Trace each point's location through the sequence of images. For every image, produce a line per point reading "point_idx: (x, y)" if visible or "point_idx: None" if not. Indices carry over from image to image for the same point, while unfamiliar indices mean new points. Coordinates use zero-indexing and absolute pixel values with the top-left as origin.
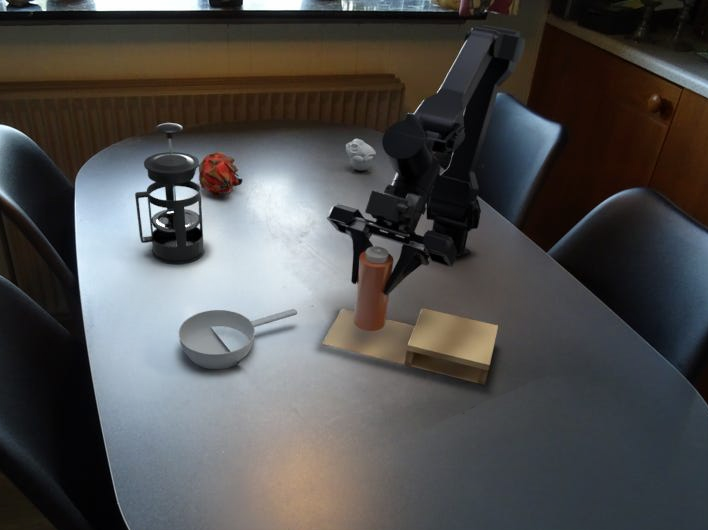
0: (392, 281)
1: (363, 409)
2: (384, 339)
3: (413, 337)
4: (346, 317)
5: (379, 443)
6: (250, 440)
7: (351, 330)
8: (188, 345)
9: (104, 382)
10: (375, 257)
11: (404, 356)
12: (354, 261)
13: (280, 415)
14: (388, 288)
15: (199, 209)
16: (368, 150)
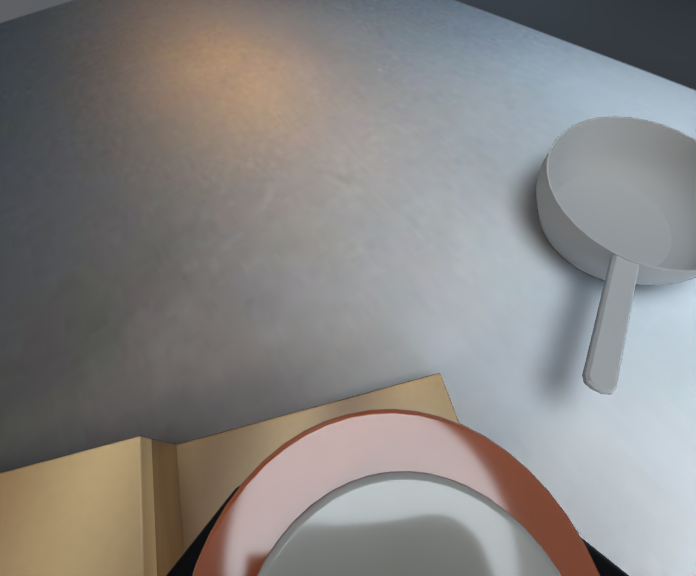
0: (192, 557)
1: (224, 251)
2: None
3: (129, 501)
4: None
5: (157, 195)
6: (362, 99)
7: None
8: (659, 191)
9: (644, 74)
10: (349, 487)
11: (189, 485)
12: (603, 569)
13: (359, 157)
14: (222, 507)
15: None
16: None
